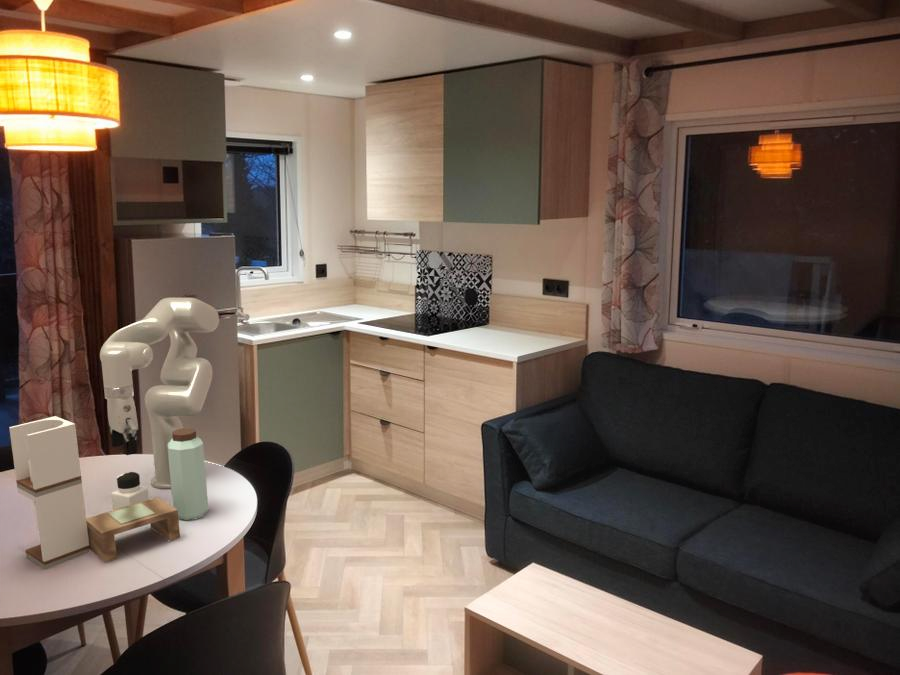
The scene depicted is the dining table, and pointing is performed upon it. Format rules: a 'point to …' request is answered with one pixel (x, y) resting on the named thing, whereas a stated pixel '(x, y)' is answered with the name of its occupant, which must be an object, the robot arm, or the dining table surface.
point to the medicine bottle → (128, 491)
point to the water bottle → (187, 474)
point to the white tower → (52, 488)
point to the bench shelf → (130, 525)
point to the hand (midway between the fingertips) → (124, 449)
